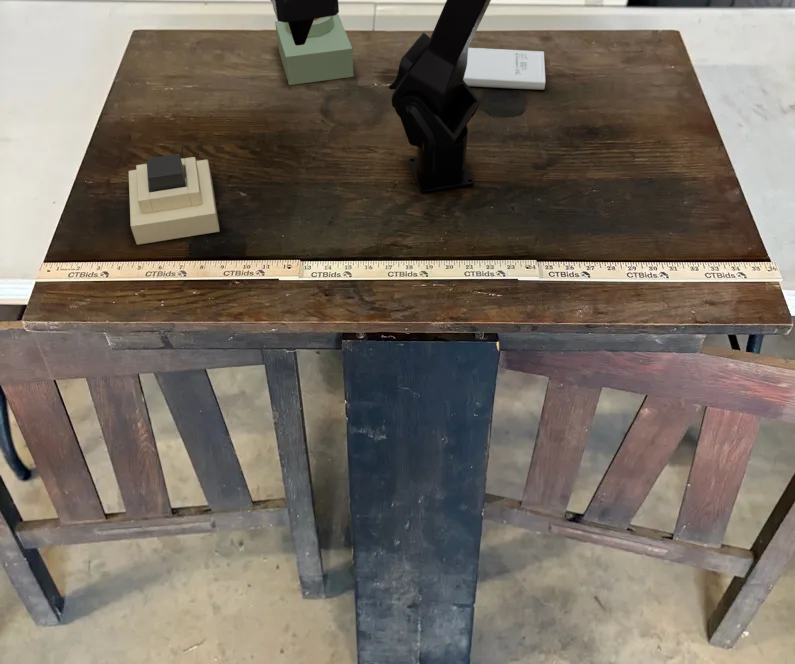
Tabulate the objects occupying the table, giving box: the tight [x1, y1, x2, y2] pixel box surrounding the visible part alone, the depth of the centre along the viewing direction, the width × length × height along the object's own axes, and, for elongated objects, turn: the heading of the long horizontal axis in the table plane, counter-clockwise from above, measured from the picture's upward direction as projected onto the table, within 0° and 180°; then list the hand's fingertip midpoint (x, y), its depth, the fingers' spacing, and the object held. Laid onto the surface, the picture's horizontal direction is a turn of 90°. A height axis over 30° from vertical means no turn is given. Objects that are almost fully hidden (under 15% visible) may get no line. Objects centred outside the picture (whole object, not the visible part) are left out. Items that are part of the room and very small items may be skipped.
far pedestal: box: [274, 13, 355, 86], centre depth 110 cm, size 11×9×6 cm
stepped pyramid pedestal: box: [128, 156, 221, 246], centre depth 89 cm, size 10×9×4 cm
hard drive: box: [463, 47, 546, 91], centre depth 110 cm, size 2×8×12 cm
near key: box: [146, 153, 185, 192], centre depth 87 cm, size 4×4×2 cm
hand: (299, 43), depth 90 cm, fingers closed
